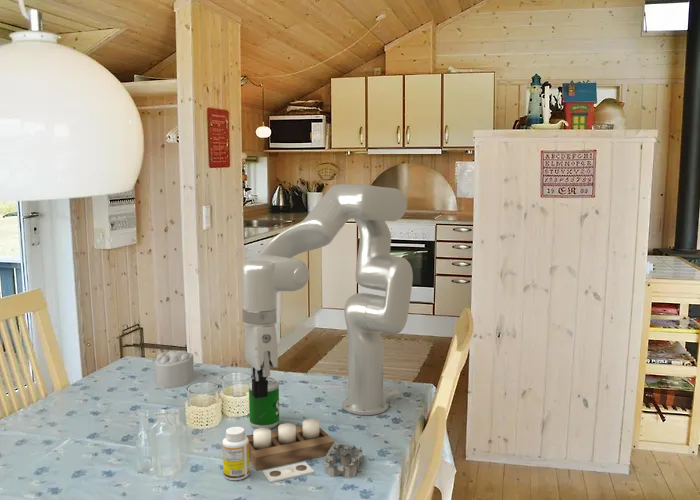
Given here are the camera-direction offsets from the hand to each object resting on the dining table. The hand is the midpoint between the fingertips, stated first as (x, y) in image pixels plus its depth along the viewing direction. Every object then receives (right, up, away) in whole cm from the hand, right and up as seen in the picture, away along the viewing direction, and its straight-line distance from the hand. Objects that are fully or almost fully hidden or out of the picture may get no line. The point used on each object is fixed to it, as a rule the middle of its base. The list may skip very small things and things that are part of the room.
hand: (259, 396), depth 147 cm
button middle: (+6, -11, +5) cm, 14 cm away
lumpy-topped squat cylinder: (-34, -8, +54) cm, 64 cm away
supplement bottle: (-4, -16, -7) cm, 18 cm away
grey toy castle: (+19, -16, -2) cm, 24 cm away
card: (+7, -15, -5) cm, 18 cm away
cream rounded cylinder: (0, -12, +2) cm, 12 cm away
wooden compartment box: (+6, -14, +5) cm, 16 cm away
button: (+11, -11, +7) cm, 17 cm away
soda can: (-2, -12, +20) cm, 23 cm away
